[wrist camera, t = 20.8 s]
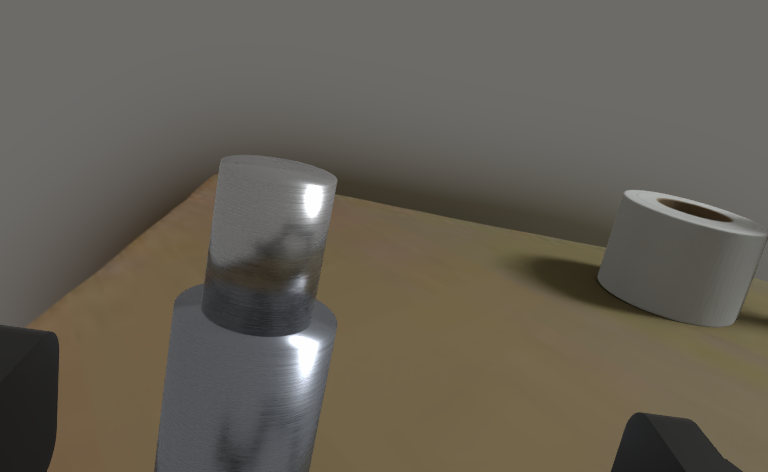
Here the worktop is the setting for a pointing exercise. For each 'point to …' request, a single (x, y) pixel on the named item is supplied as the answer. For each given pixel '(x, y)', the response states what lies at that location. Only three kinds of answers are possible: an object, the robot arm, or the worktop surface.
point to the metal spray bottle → (252, 327)
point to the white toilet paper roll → (681, 258)
